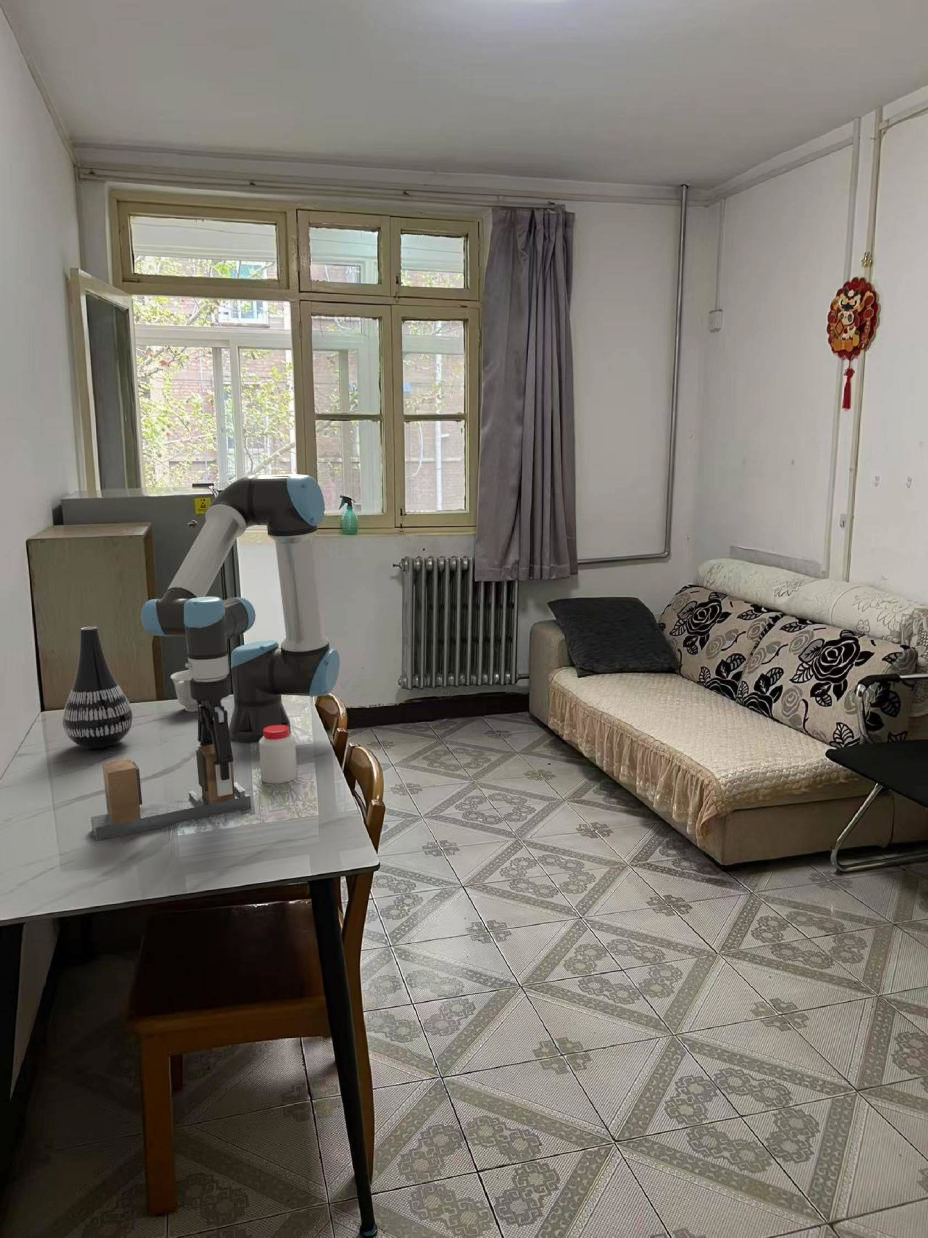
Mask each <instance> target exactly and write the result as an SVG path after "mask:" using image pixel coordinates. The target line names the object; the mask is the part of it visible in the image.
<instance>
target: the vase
mask: <svg viewBox="0 0 928 1238" xmlns="http://www.w3.org/2000/svg"><path fill="white" fill-rule="evenodd" d="M79 636H80V637H79V651H78V663H77V668H76V672H75V677H74V680H73V684H72V686H71V690H70V692H69V695H68V698H67V701H66V703H65V706H64V708H63V714H62V728H63V730H64V733H65V735H67V737H68V739H70V741H72V743H74V744H76V745H77V746H80V747H81V748H82V747H83V748H86V749H87V750H89V751H101V750H107V749H110V748H113V747H114V746H115V745H116V744H117V743H119V742H120V741H122V740H123V739H124V738H125V737H126V736H127V735H128V734H129V732H130V730H131V727H132V725H133V721H134V719H133V718H134V715H133V710H132V705H131V704H130V702H129V700H128V698H127V696H126V694H125V693H124V692H123V690H122V688H121V687H120V685H119V683H118V682H117V681H116V680H117V679H116V678H115V676H114V675H113V673H112V670H111V669H110V667H109V664H108V661H107V658H106V656H105V652H104V649H103V645H102V642H101V637H100V634H99V628H98V626H85V627H81V628H80V629H79Z"/></svg>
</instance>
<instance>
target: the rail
mask: <svg viewBox="0 0 928 1238" xmlns="http://www.w3.org/2000/svg"><path fill="white" fill-rule="evenodd" d="M102 772H103V773H102V774H103V781H104V782H103V783H104V794H105V801H106V811H107V812H106V813H105V814H100V815H95V816H90V820H91V821H90V822H91V830H92V832H93V835H94V837H95V839H96V841H97V842H98V841H103V840H107V839H112V838H116V837H121V836H124V835H131V834H136V833H140V832H144V831H149V830H154V829H157V828H162V827H168V826H173V825H176V824H181V823H185V822H186V823H187V822H190V821H195V820H201V819H203V818H204V819H206V818H209V817H214V816H218V815H223V814H228V813H232V812H237V811H242V810H246V809H247V810H248V809H251V808H252V800H251V795H250V793H248V792H247V790H246V789H245V788H244V787H242V786H241V785H240V784H239V783H238V782H237V781H236V782H235V781H234V789H235V799H232V800H227V801H222V802H218V803H213V804H209V802H208V801H207V800H206V799H205V797H204V796H203V795H202V794H197V793H196V791H195V790H189V791H188V797H184V798H183V797H182V798H179V799H174V800H169V801H164V802H159V803H154V804H148V805H144V806H142V805H143V798H142V797H143V796H142V786H141V785H142V784H141V775H140V768H139V767H138V765H137V764H136V762H135V761H133V760H132V759H131V758H128V759H122V760H116V761H110V762H106V763H102Z"/></svg>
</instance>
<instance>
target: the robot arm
mask: <svg viewBox="0 0 928 1238" xmlns="http://www.w3.org/2000/svg"><path fill="white" fill-rule="evenodd" d="M325 508H326V506H325V498H324V495H323V491H322V489H321V486H320V484H319V483H318V482H317V480H316V479H315V478H314V477H312V476H311V475H307V474H295V473H287V474H285V473H284V474H264V475H262V474H261V475H258V474H254V475H253V474H252V475H247V476H244V477H242V478H239V479H237V480H235V481H233V482H232V483H231V484H229V485H228V486H226V487H225V488H224V489H223V490H222V491H220V492H219V494H217V495H216V497H215V498H214V499H213V500H212V502H211V503H210V505H209V507H208V508H207V510H206V511H205V516H204V517H205V522H204V524H203V526H202V528H201V530H200V532H199V533H198V535H197V537H196V539H195V540H194V542H193V544H192V546H191V547H190V550H189V551H188V553H187V554H186V556H185V558H184V560H183V561H182V563H181V565H180V567H179V569H178V570H177V572H176V573H175V575H174V578H173V579H172V581H171V582H170V585H169V586H168V588H167V589H166V591H165V593H164V595H163V596H162V598H154V599H153V598H152V599H149V600H148V601H146V602H145V603H144V604H143V606H142V609H141V612H140V613H141V614H140V618H141V619H140V620H141V624H142V627H143V628H144V631H145V632H147V634H149V635H153V636H161V637H166V638H168V637H185V640H186V641H185V642H186V649H187V650H186V651H187V661H188V662H187V663H185V665H184V667H185V668H186V669H188V670H189V676H190V677H191V678H192V679H191V680H190V694H191V698H192V699H194V700H197V707H198V711H197V741H198V743H199V744H200V746H206V745H211V744H213V745H214V750H215V755H216V761H214V762H213V765H215V767H216V780H217V793H218V796H223V795H228V794H233V792H232V779H231V766H230V762H234V759H235V758H234V755H233V748H232V742H231V740H232V741H235V742H239V743H249V744H250V743H251V744H253V743H259V740H260V739H261V738H262V737H263V736H264V732H263V729H264V728H266V727H268V726H273V725H286V726H288V727H289V734H291V732H292V730H291V727H292V726H291V722H290V718H289V716H288V714H287V712H286V709H285V707H284V704H283V699H282V698H283V697H282V696H299V697H300V696H302V697H311V698H313V697H325V696H328V695H329V694H330V693H331V692H332V691H333V690H334V688H335V687H336V684H337V681H338V677H339V673H340V664H341V663H340V654H339V651H338V650H337V649H335V648H333V647H332V648H330V641H329V638H328V637H327V636H325V635H324V634H323V632H322V623H321V613H320V612H321V611H320V603H319V595H318V594H319V593H318V583H317V575H316V566H315V564H316V563H315V554H314V545H313V537H314V536H315V535H316V533H318V531H319V529H318V526H319V525H321V524H322V523H323V522H324V520H325V516H326V515H325V511H326V509H325ZM254 526H266V530H267V536H268V537H269V538H270V539H272V540H273V541H274V542H275V543H274V544H275V551H276V558H277V559H276V560H277V568H278V569H277V570H278V577H279V586H280V587H279V588H280V596H281V604H282V612H283V623H284V629H285V630H284V631H285V638H284V640H283V641H282V642H281V643H280V644H279V642H278V641H277V640H274V639H273V640H272V639H271V640H262V641H256V642H250V643H247V644H243V645H239V646H238V647H236V648H234V649H233V650H232V652H231V653H230V654H231V655H230V656H231V657H230V663H229V652H228V640H229V639H232V638H235V637H237V636H240V635H241V636H242V635H244V633H246V632H247V631H249V630H250V629H251V628H252V627H253V626H254V624H255V621H256V610H255V608H254V605H252V603H251V602H250V601H249V600H248V599H246V598H244V597H239V596H236V597H229V598H226V599H222V598H221V597H218V596H207V594H208V593H209V590H210V588H211V586H212V585H213V583H214V581H215V579H216V578H217V575H218V573H219V571H220V570H221V568H222V566H223V564H224V563H225V560H226V558H227V556H228V554H229V553H230V551H231V549H232V547H233V545H234V543H235V542H236V539H237V538H239V537H241V536H243V535H244V534H245V532H246V531H247V529H248V528H250V527H254ZM279 646H280V647H279ZM229 664H230V665H229ZM230 669H231V680H232V692H233V705H234V706H233V711H232V713H231V714H232V715H231V718H230V722H228V721H229V718H228V717H229V715H228V714H229V713H228V711H227V710H225V707H224V705H222V700H223V699H224V698H225V699H226V698H227V697H229V696H230V695H231V683H230V677H229V676H228V674H230ZM200 746H199V747H200ZM223 756H226V757H223Z"/></svg>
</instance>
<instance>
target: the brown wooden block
mask: <svg viewBox="0 0 928 1238" xmlns="http://www.w3.org/2000/svg"><path fill="white" fill-rule="evenodd" d="M197 748H198V749H197V750H195V754H196V756H195V757H196V765H197V767H196V768H197V780H198V785H199V787H201V795H203V796H204V797H205V799H206V800H207V801H208V802H209V804H213V803H218V802H222V801H227V800H232V799H235V789H234V782H235V778H234V765H233V764H234V763H233V762H234V761H233V762H230V766H231V779H232V792H233V794H228V795H223V796H218V793H217V780H216V767H215V765H213V762H214V761H216V755H215V750H214V745H213V744H211V745H206V746H198V747H197ZM223 757H226V756H223Z"/></svg>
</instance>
